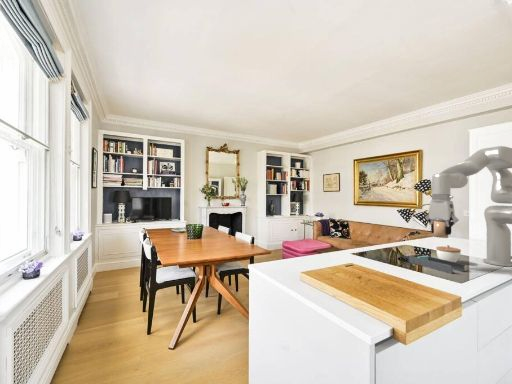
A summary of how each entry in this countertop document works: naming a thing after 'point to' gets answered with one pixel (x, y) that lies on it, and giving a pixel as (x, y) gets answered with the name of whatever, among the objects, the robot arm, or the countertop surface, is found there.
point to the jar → (439, 228)
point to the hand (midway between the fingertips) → (440, 233)
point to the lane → (436, 263)
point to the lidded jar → (448, 253)
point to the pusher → (424, 257)
